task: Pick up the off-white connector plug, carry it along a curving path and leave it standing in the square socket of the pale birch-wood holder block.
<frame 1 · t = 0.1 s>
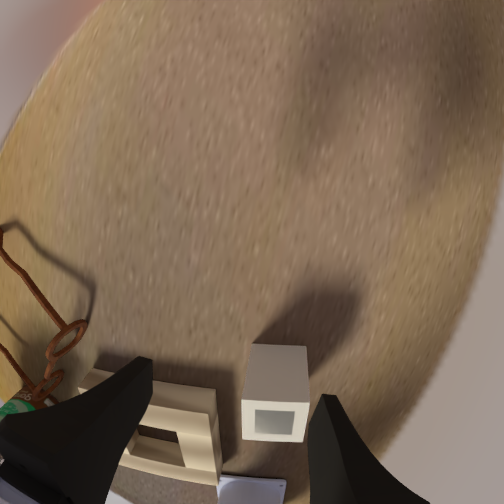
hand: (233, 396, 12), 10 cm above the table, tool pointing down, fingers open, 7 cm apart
connector plug: (277, 365, 23), on the table
glasses: (29, 310, 26), on the table
food container: (36, 395, 30), on the table
holder: (160, 423, 27), on the table
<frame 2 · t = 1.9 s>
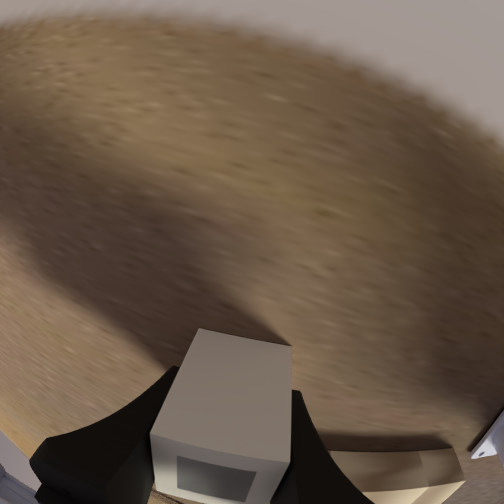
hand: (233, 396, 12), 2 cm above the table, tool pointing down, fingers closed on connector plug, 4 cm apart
connector plug: (238, 372, 14), on the table, touching gripper
holder: (342, 496, 17), on the table
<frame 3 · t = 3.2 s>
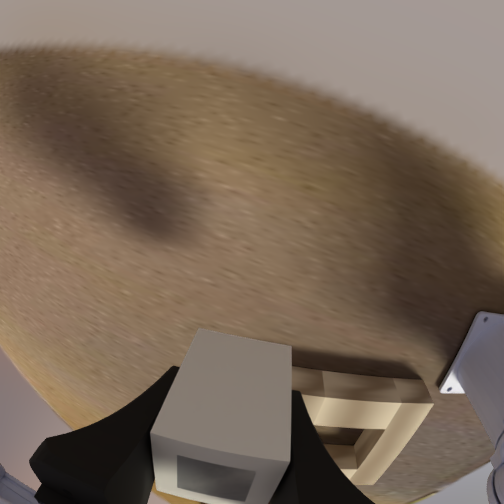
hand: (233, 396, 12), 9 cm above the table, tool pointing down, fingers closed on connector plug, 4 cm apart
connector plug: (238, 372, 14), point 8 cm above the table, touching gripper
holder: (334, 424, 24), on the table
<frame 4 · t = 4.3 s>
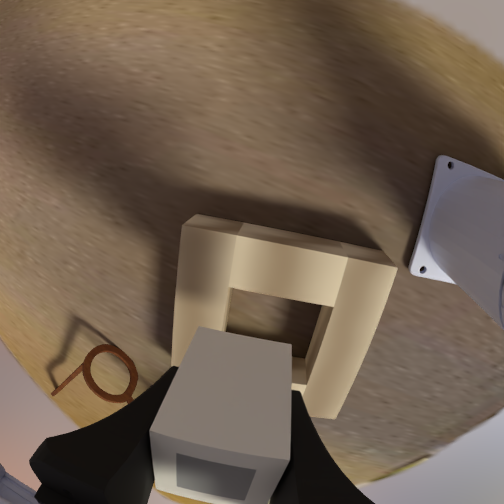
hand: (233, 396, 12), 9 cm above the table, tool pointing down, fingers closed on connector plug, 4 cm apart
connector plug: (238, 370, 14), point 8 cm above the table, touching gripper
glasses: (127, 407, 27), on the table
holder: (273, 316, 21), on the table
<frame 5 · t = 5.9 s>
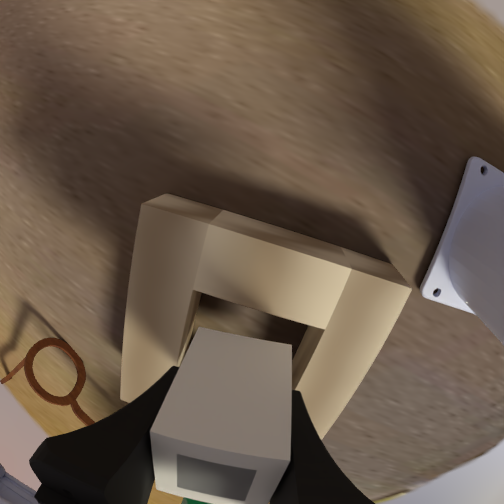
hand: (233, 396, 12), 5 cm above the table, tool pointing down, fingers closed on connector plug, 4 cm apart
connector plug: (238, 371, 14), point 4 cm above the table, touching gripper
glasses: (78, 406, 23), on the table
holder: (248, 329, 17), on the table
when the fingers open (4 cm above the table, at t = 6.8 s): connector plug drops 2 cm, resting in holder.
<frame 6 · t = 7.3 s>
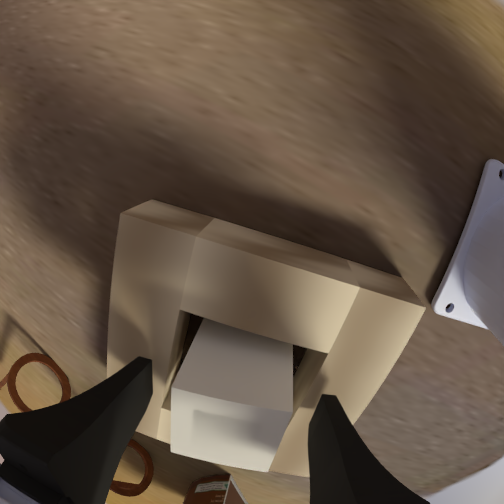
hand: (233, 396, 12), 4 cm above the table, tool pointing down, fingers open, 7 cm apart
connector plug: (244, 346, 16), resting in holder
glasses: (66, 420, 21), on the table
food container: (212, 496, 22), on the table
holder: (243, 348, 16), on the table
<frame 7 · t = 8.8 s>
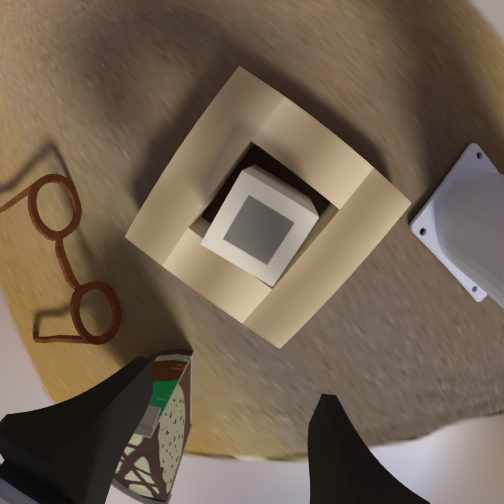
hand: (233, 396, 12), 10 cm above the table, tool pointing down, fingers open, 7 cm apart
connector plug: (266, 207, 20), resting in holder
glasses: (48, 264, 24), on the table
food container: (160, 382, 26), on the table
holder: (265, 208, 20), on the table
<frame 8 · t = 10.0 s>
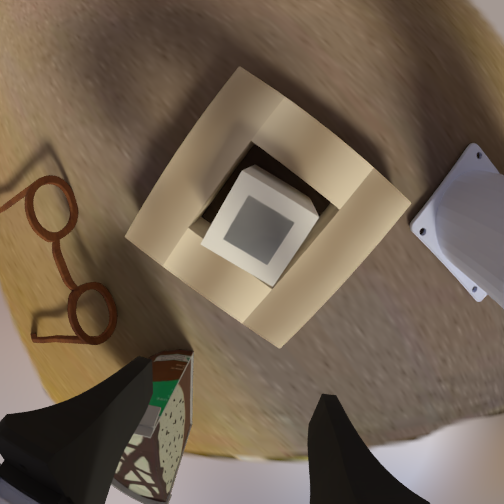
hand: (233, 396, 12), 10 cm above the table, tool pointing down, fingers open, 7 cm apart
connector plug: (266, 207, 20), resting in holder
glasses: (46, 265, 24), on the table
food container: (160, 382, 26), on the table
holder: (265, 208, 20), on the table
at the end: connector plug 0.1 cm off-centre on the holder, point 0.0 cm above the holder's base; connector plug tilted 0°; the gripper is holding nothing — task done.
